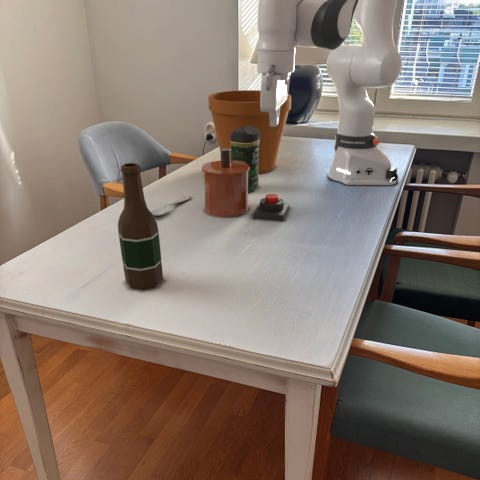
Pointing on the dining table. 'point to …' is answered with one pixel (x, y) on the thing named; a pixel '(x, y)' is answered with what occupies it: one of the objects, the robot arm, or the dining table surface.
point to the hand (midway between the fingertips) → (274, 125)
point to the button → (272, 198)
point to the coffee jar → (247, 151)
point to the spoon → (161, 209)
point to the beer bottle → (138, 234)
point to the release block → (271, 210)
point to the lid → (225, 165)
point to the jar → (226, 194)
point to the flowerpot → (248, 122)
